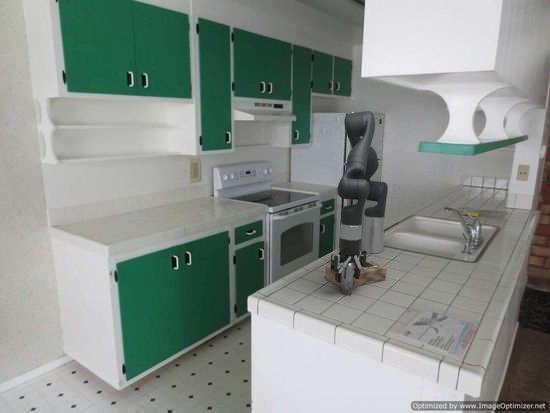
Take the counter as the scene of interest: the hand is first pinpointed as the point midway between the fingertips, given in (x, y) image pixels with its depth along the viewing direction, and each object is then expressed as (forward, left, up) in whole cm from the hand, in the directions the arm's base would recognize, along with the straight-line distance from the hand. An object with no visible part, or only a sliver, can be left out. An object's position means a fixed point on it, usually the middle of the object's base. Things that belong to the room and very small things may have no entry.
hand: (347, 280), depth 141 cm
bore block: (-11, -9, -5) cm, 15 cm away
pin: (0, 0, -5) cm, 5 cm away
